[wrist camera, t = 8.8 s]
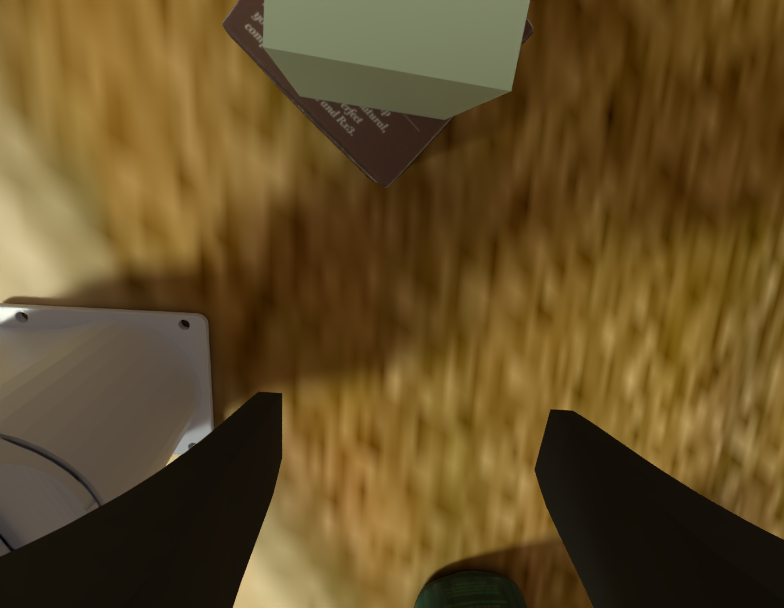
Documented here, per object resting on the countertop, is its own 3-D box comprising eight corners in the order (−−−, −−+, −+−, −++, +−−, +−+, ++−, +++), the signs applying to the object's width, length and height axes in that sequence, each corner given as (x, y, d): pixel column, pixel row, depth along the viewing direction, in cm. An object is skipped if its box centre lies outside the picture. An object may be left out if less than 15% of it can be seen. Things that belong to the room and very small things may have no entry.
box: (266, 77, 17) (210, 19, 10) (365, -44, 16) (378, -201, 9) (372, 182, 19) (385, 195, 12) (467, 80, 18) (542, 28, 11)
